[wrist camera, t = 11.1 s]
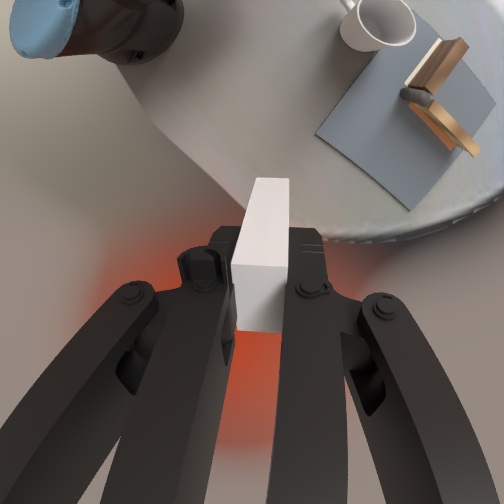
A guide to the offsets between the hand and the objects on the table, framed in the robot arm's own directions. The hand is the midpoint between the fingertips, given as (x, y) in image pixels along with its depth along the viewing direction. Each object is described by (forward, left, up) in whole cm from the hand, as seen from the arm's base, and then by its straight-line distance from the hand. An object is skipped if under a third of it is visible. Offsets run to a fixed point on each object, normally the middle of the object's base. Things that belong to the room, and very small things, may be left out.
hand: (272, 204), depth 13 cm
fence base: (+12, +21, -29) cm, 37 cm away
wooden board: (+19, +16, -29) cm, 38 cm away
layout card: (+16, +14, -29) cm, 36 cm away
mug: (0, +19, -30) cm, 35 cm away
